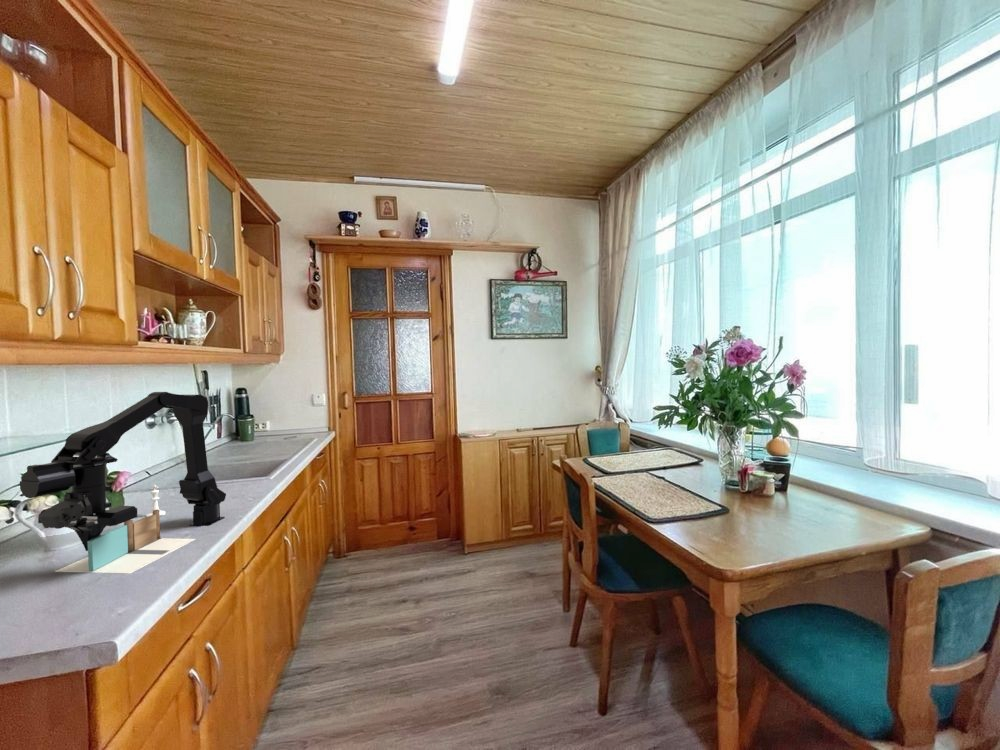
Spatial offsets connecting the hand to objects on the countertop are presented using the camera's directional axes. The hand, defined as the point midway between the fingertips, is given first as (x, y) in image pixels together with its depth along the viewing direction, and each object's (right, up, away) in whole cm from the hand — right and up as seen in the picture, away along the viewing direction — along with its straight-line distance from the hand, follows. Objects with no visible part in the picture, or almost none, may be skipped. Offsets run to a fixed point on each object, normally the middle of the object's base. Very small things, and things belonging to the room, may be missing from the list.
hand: (89, 550), depth 93 cm
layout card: (+3, -4, +7) cm, 9 cm away
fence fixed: (+2, -4, +12) cm, 13 cm away
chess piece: (-14, -4, +34) cm, 37 cm away
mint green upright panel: (+2, -4, +3) cm, 5 cm away
